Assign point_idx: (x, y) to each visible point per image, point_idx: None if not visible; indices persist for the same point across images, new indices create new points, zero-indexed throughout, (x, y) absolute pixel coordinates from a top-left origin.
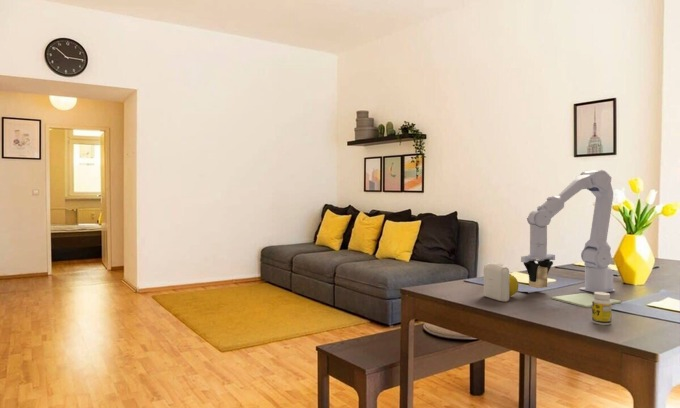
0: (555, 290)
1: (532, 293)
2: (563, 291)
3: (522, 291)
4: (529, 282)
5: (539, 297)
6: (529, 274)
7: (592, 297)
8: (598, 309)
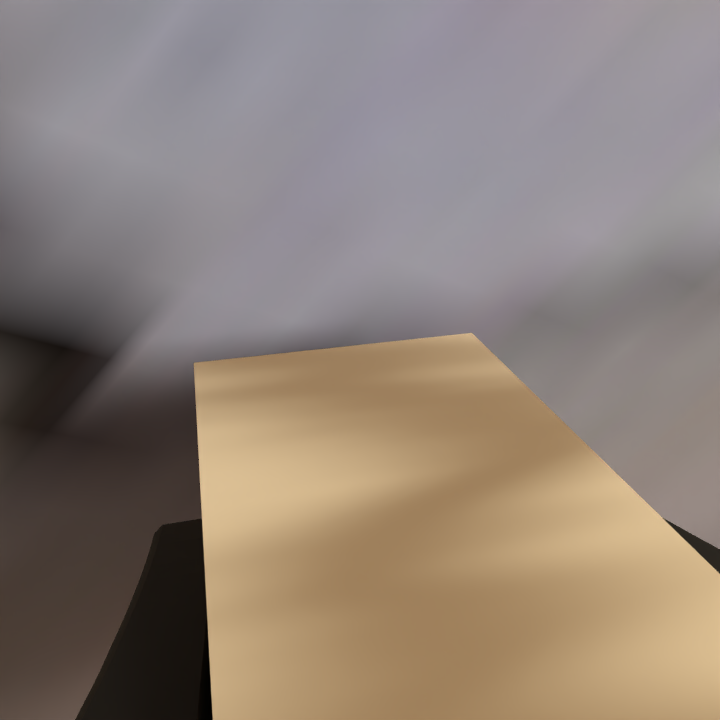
0: (661, 379)
1: (139, 467)
2: (682, 459)
3: (52, 266)
4: (200, 425)
5: (54, 700)
6: (118, 702)
7: None
8: None
